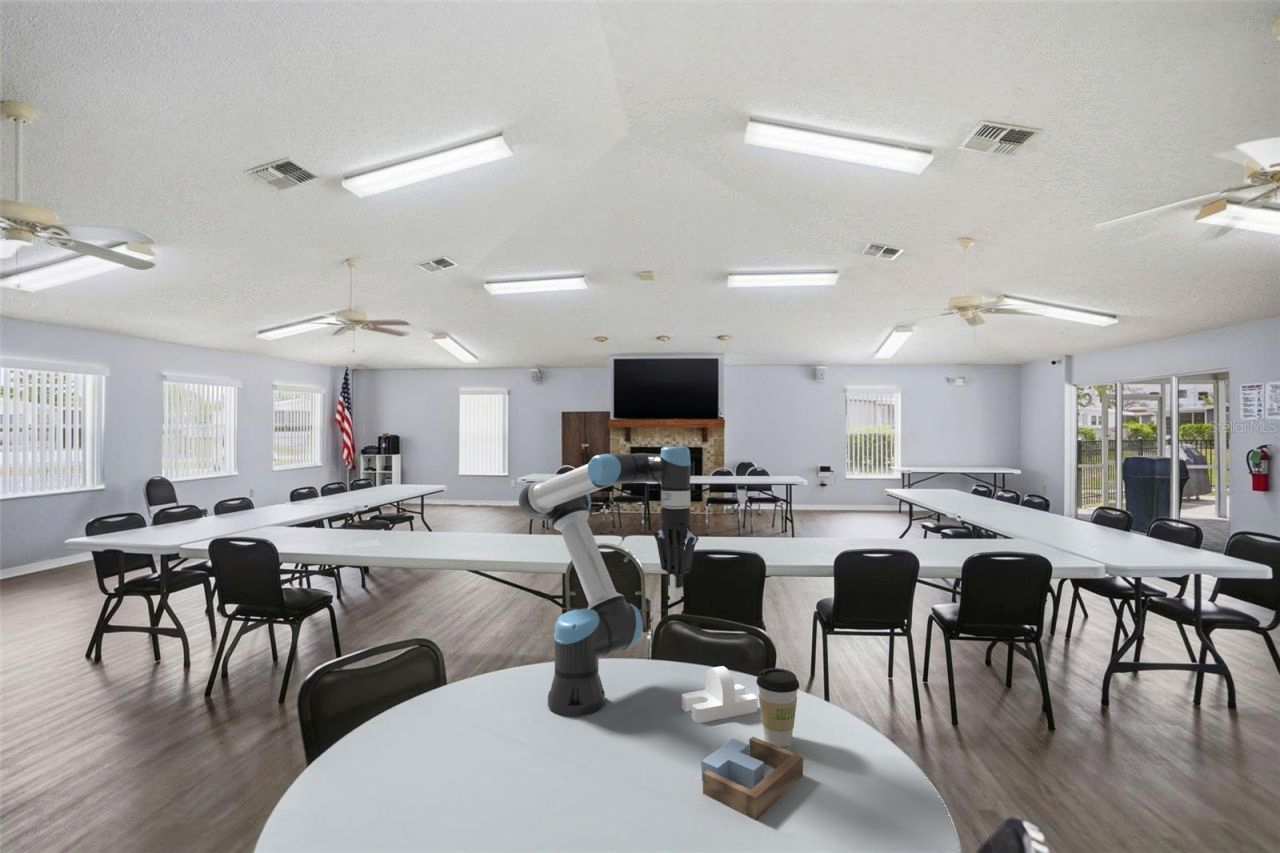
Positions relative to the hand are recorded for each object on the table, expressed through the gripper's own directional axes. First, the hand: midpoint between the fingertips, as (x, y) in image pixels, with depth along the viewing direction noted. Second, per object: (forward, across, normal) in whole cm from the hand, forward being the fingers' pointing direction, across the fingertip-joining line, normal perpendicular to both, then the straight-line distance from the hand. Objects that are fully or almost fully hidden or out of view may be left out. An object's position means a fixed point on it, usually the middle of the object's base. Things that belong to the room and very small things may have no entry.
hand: (675, 599), depth 147 cm
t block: (+29, +26, -12) cm, 41 cm away
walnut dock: (+29, +31, -12) cm, 44 cm away
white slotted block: (+30, +6, +11) cm, 32 cm away
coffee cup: (+30, +25, +7) cm, 39 cm away
